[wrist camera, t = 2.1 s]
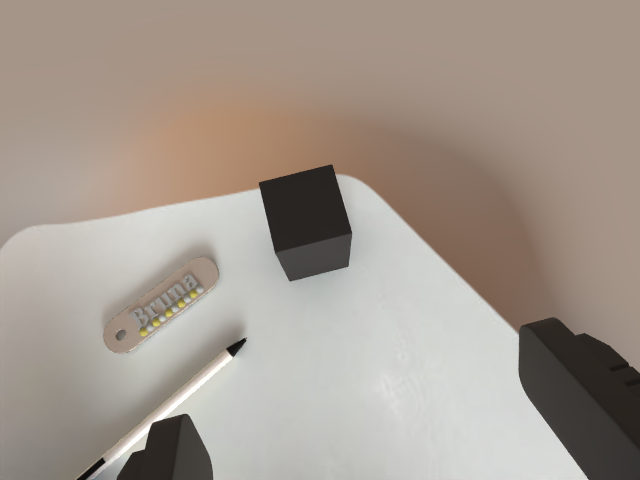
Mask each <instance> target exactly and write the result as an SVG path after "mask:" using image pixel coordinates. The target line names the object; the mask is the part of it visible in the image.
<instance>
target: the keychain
mask: <svg viewBox="0 0 640 480" xmlns="http://www.w3.org/2000/svg"><path fill="white" fill-rule="evenodd" d="M218 277H219V272H218V268H217V266H216V264H215V263H214V262H213V261H212V260H210V259H208V258H205V257H198V258H194V259H192V260H191V261H189V262H188V263H186V264H185V265H184V266H182V267H181V268H180V269H178V270H177V271H176V272H174V273H173V274H172V275H170V276H169V277H168V278H166V279H165V280H164V281H162V282H161V283H160V284H158V285H157V286H156V287H154V288H153V289H152V290H150V291H149V292H148V293H146V294H145V295H144V296H142V297H141V298H140V299H138V300H137V301H136V302H134V303H133V304H132V305H130V306H129V307H128V308H126V309H125V310H124V311H122V312H121V313H120V314H118V315H117V316H116V317H114V318H113V319H112V320H111V321H110V322H109V323H108V324H107V326H106V328H105V330H104V334H103V336H104V342H105V345H106V346H107V348H108V349H109V350H111V351H113V352H115V353H126V352H129V351H131V350H133V349H134V348H136V347H137V346H138V345H140V344H141V343H142V342H143V341H145V340H146V339H147V338H149V337H150V336H151V335H153V334H154V333H155V332H157V331H158V330H159V329H160V328H162V327H163V326H164V325H166V324H167V323H168V322H170V321H171V320H172V319H173V318H175V317H176V316H177V315H179V314H180V313H181V312H183V311H184V310H185V309H186V308H188V307H189V306H190V305H192V304H193V303H194V302H196V301H197V300H198V299H199V298H201V297H202V296H203V295H205V294H206V293H207V292H209V291H210V290H211V289H212V288H213V287H214V286H215V285H216V283H217V281H218ZM120 330H125V332H126V337H125V338H124V339H123V340H121V341H120V340H118V339H117V333H118V332H119V331H120Z"/></svg>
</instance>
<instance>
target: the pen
mask: <svg viewBox="0 0 640 480" xmlns="http://www.w3.org/2000/svg"><path fill="white" fill-rule="evenodd" d="M246 339H248V338H247V337H246V338H244V339H242V340H240V341H238V342H237V343H235V344H233V345H231V346H230V347H228V348H226V349H225V350H224V351H223V352H222V353H220V354H219V355H218V356H217V357H216V358H215V359H213V360H212V361H211V362H210V363H209V364H208V365H207V366H205V367H204V368H203V369H202V370H201V371H200V372H198V373H197V374H196V375H195V376H194V377H193V378H191V379H190V380H189V381H188V382H187V383H186V384H185V385H183V386H182V387H181V388H180V389H179V390H178V391H176V392H175V393H174V394H173V395H172V396H171V397H169V398H168V399H167V400H166V401H165V402H164V403H162V404H161V405H160V406H159V407H158V408H157V409H156V410H154V411H153V412H152V413H151V414H150V415H149V416H147V417H146V418H145V419H144V420H143V421H142V422H140V423H139V424H138V425H137V426H136V427H135V428H134V429H132V430H131V431H130V432H129V433H128V434H127V435H125V436H124V437H123V438H122V439H121V440H120V441H118V442H117V443H116V444H115V445H114V446H113V447H111V448H110V449H109V450H108V451H107V452H106V453H105V454H103V455H102V456H101V457H100V458H99V459H98V460H96V461H95V462H94V463H93V464H92V465H91V466H89V467H88V468H87V469H86V470H85V471H84V472H83V473H81V474H80V475H79V476H78V477H77V478H76V479H74V480H93V479H94V478H95V477H96V476H97V475H99V474H100V473H101V472H102V471H103V470H104V469H105V468H107V467H108V466H109V465H110V464H111V463H112V462H113V461H115V460H116V459H117V458H118V457H119V456H120V455H122V454H123V453H124V452H125V451H126V450H127V449H128V448H130V447H131V446H132V445H133V444H134V443H135V442H136V441H138V440H139V439H140V438H141V437H142V436H143V435H145V434H146V433H147V432H148V431H149V430H150V427H151V425H152V423H153V422H156V421H159V420H162V419H163V418H164V417H165V416H166V415H168V414H169V413H170V412H171V411H172V410H173V409H174V408H176V407H177V406H178V405H179V404H180V403H181V402H182V401H184V400H185V399H186V398H187V397H188V396H189V395H191V394H192V393H193V392H194V391H195V390H196V389H197V388H199V387H200V386H201V385H202V384H203V383H204V382H205V381H207V380H208V379H209V378H210V377H211V376H212V375H214V374H215V373H216V372H217V371H218V370H219V369H220V368H222V367H223V366H224V365H225V364H226V363H227V362H228V361H230V360H231V359H232V358H233V357H234V356H235V354H236V353H237V352H238V351H239V349H240V348H241V347H242V346H243V344H244V343H245V342H246Z"/></svg>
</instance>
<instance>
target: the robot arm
mask: <svg viewBox="0 0 640 480" xmlns="http://www.w3.org/2000/svg"><path fill="white" fill-rule="evenodd" d="M519 377H520V381H521V384H522V387H523V389H524V391H525V393H526V395H527V396H528V398H529V399H530V401H531V402H532V403H533V405H534V406H535V407H536V409H537V410H538V411H539V413H540V414H541V415H542V417H543V418H544V420H545V421H546V422H547V424H548V425H549V426H550V428H551V429H552V430H553V432H554V433H555V434H556V436H557V437H558V438H559V440H560V441H561V443H562V444H563V445H564V447H565V448H566V449H567V451H568V452H569V453H570V455H571V456H572V457H573V459H574V460H575V462H576V463H577V464H578V466H579V467H580V468H581V470H582V471H583V472H584V474H585V475H586V476H587V478H588V479H589V480H640V373H639V372H638V371H637V370H635V369H634V368H633V367H630V366H629V364H628V362H627V361H626V360H624V359H623V358H622V357H621V356H620V355H619V354H618V353H617V352H616V351H615V350H613V349H612V348H611V347H610V346H609V345H607V344H605V343H603V342H601V341H599V340H597V339H595V338H593V337H591V336H589V335H587V334H585V333H583V334H579V335H576V336H575V335H574V334H573V333H572V332H571V331H570V330H569V329H568V328H567V327H566V326H565V325H564V324H563V323H562V322H561V321H560V320H558V319H556V318H548V319H545V320H541V321H537V322H533V323H530V324H526V325H522V326H521V328H520V330H519ZM117 480H213V471H212V464H211V460H210V456H209V454H208V452H207V450H206V448H205V446H204V444H203V442H202V440H201V438H200V436H199V434H198V432H197V430H196V428H195V426H194V424H193V422H192V420H191V418H190V416H189V415H188V414H182V415H178V416H175V417H171V418H167V419H163V420H159V421H156V422H153V423H152V425H151V427H150V430H149V434H148V438H147V442H146V447H145V450H141V451H137V452H134V453H132V454H131V456H130V457H129V459H128V461H127V462H126V464H125V465H124V467H123V469H122V470H121V472H120V473H119V475H118V476H117Z"/></svg>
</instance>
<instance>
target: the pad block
mask: <svg viewBox="0 0 640 480" xmlns="http://www.w3.org/2000/svg"><path fill="white" fill-rule="evenodd" d="M259 186H260V190H261V195H262V199H263V203H264V208H265V212H266V216H267V220H268V225H269V229H270V233H271V238H272V242H273V246H274V250H275V253H276V255H277V257H278V259H279V261H280V263H281V265H282V267H283V269H284V271H285V273H286V275H287V277H288V279H289V281H294V280H298V279H302V278H305V277H309V276H313V275H317V274H321V273H325V272H329V271H333V270H336V269H340V268H344V267H348V265H349V256H350V247H351V238H352V231H351V227H350V224H349V220H348V217H347V213H346V210H345V207H344V203H343V200H342V196H341V193H340V189H339V186H338V183H337V179H336V176H335V172H334V169H333V166H332V165H328V166H323V167H319V168H315V169H311V170H307V171H303V172H299V173H295V174H291V175H287V176H283V177H279V178H275V179H271V180H267V181H263V182H259Z"/></svg>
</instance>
